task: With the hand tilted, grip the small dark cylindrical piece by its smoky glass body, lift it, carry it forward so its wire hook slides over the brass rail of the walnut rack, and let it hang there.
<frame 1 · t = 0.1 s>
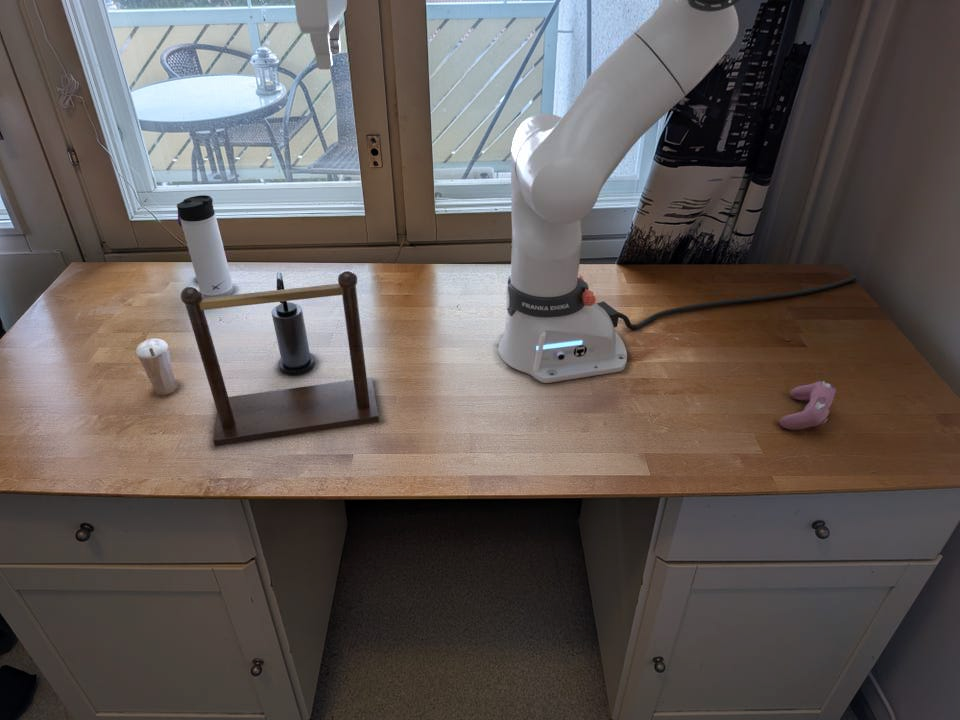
hand: (329, 60, 86), 48 cm above the table, tool pointing down, fingers open, 8 cm apart
dark cylindrical piece: (297, 365, 111), on the table
toy lamp: (206, 279, 136), on the table
rack: (298, 421, 99), on the table
travel mug: (218, 293, 131), on the table
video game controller: (803, 418, 101), on the table
milkshake: (166, 391, 105), on the table
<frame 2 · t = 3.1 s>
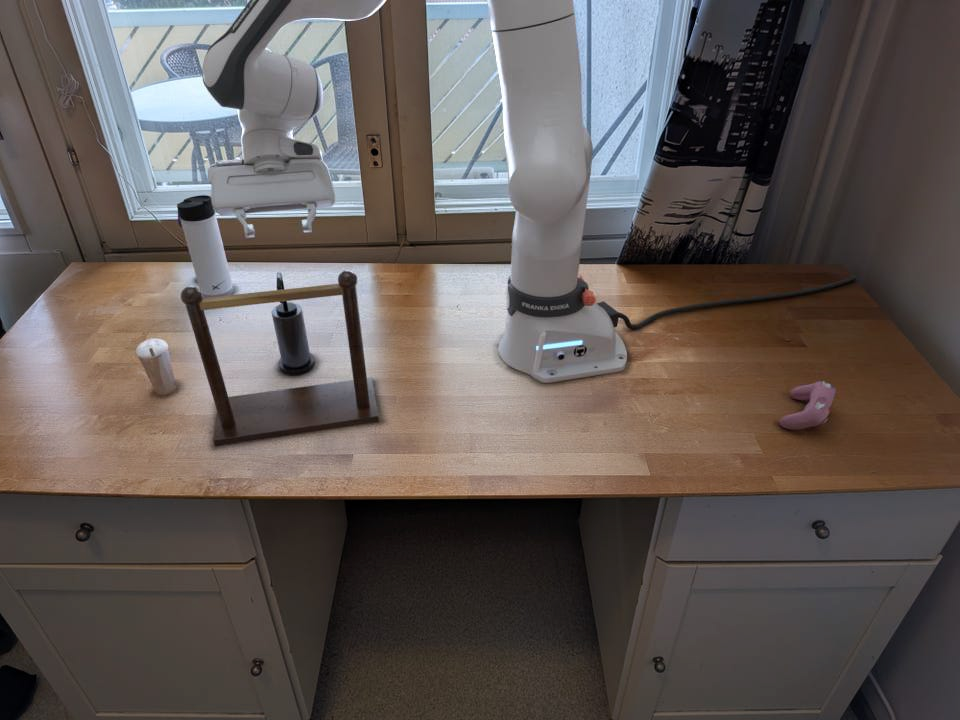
hand: (279, 233, 110), 19 cm above the table, tool tilted 45°, fingers open, 8 cm apart
nothing on the table moved.
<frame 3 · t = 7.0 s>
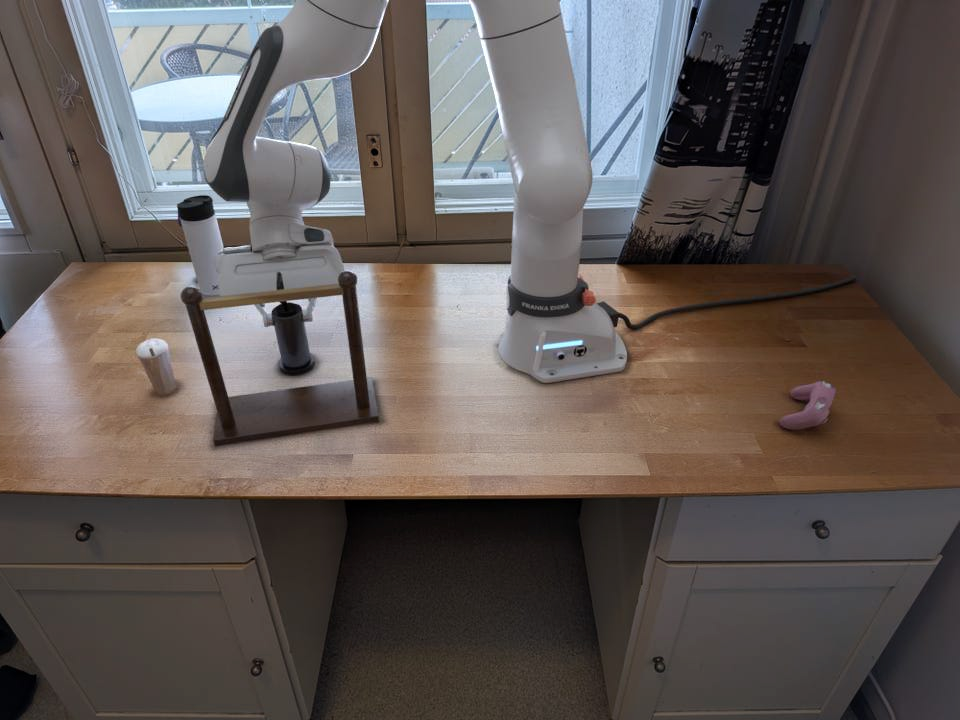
hand: (289, 323, 106), 9 cm above the table, tool tilted 45°, fingers closed on dark cylindrical piece, 5 cm apart
dark cylindrical piece: (297, 365, 111), on the table, touching gripper
everything else where it was.
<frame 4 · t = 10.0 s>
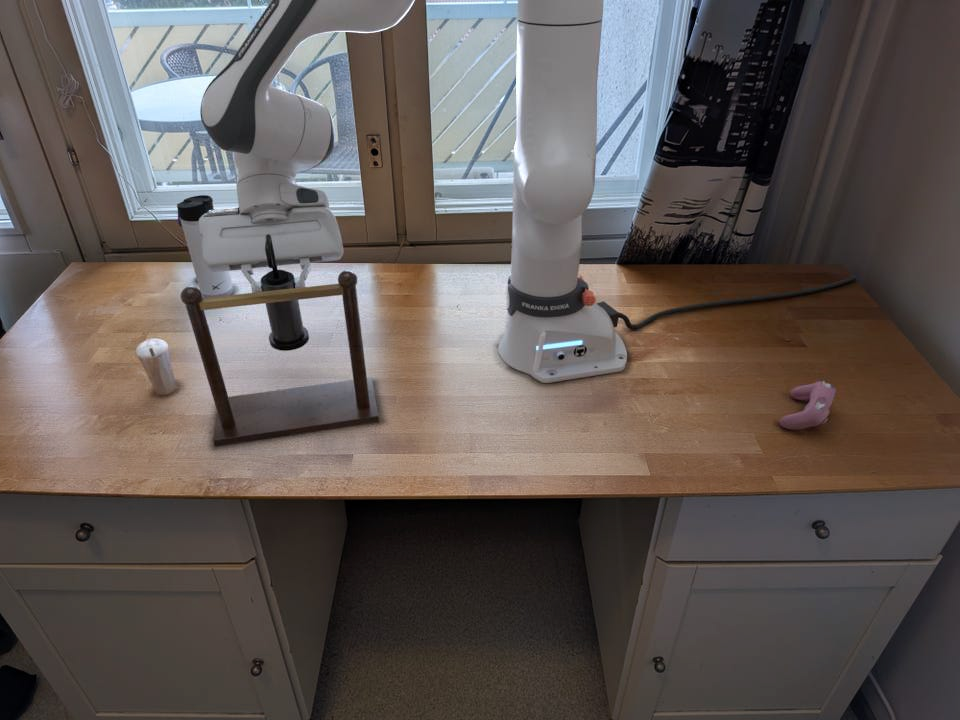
hand: (280, 292, 96), 18 cm above the table, tool tilted 45°, fingers closed on dark cylindrical piece, 5 cm apart
dark cylindrical piece: (289, 340, 102), point 9 cm above the table, touching gripper
everything else where it was.
when the fingers open (14 cm above the table, at t = 12.8 s): dark cylindrical piece moves 5 cm, resting on rack.
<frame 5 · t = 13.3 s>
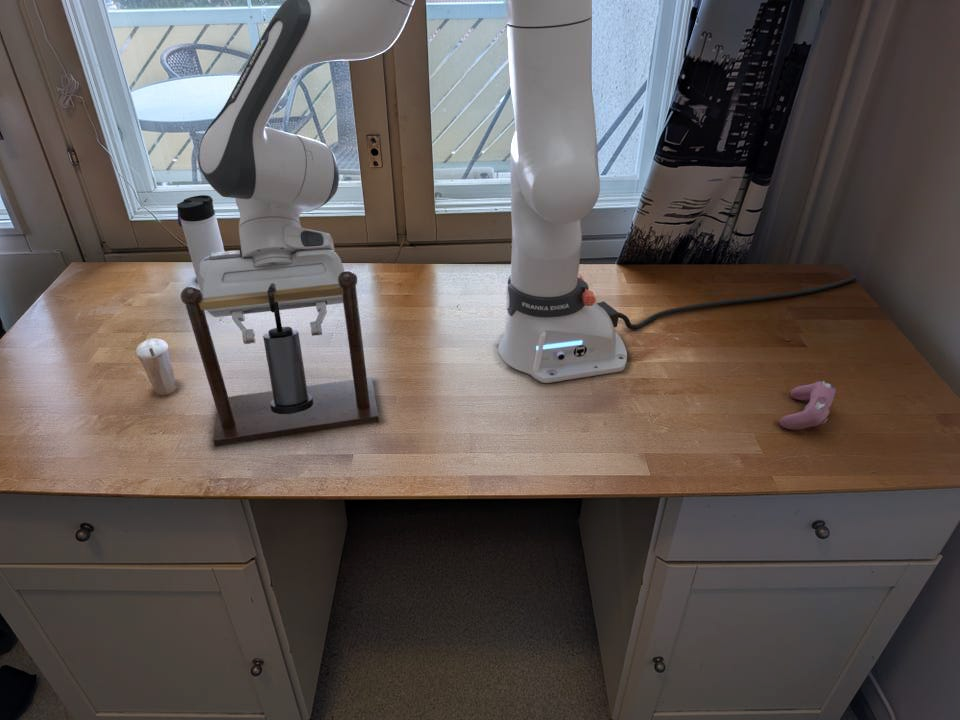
hand: (283, 338, 93), 14 cm above the table, tool tilted 45°, fingers open, 8 cm apart
dark cylindrical piece: (292, 406, 94), point 5 cm above the table, tilted 18°, touching rack
everything else where it was.
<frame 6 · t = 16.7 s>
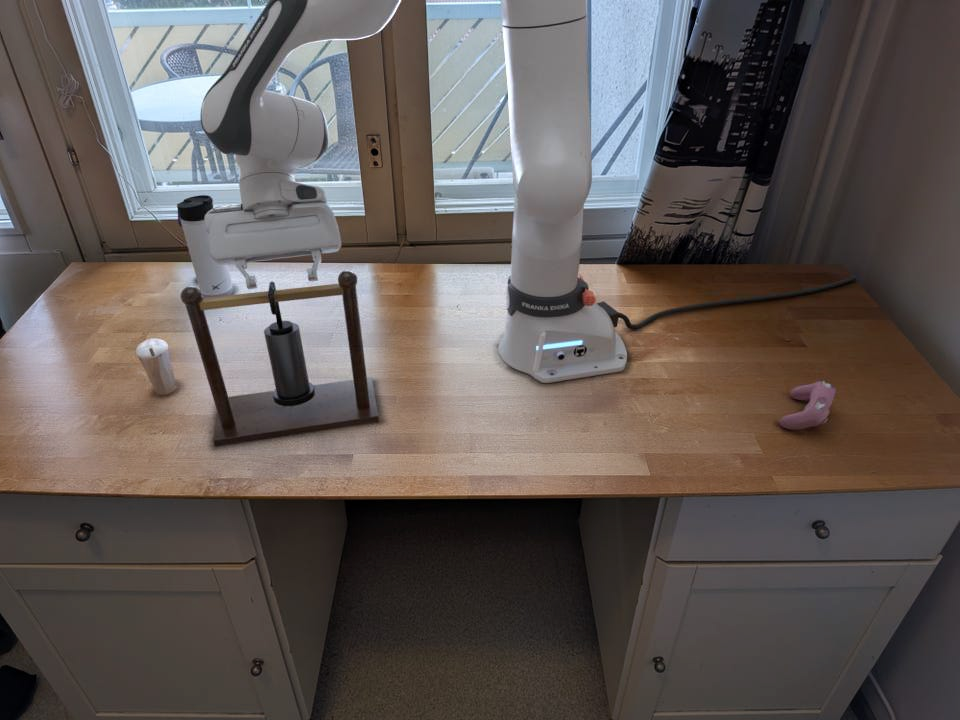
hand: (283, 284, 103), 15 cm above the table, tool tilted 40°, fingers open, 8 cm apart
dark cylindrical piece: (294, 396, 97), point 5 cm above the table, tilted 9°, touching rack
everything else where it was.
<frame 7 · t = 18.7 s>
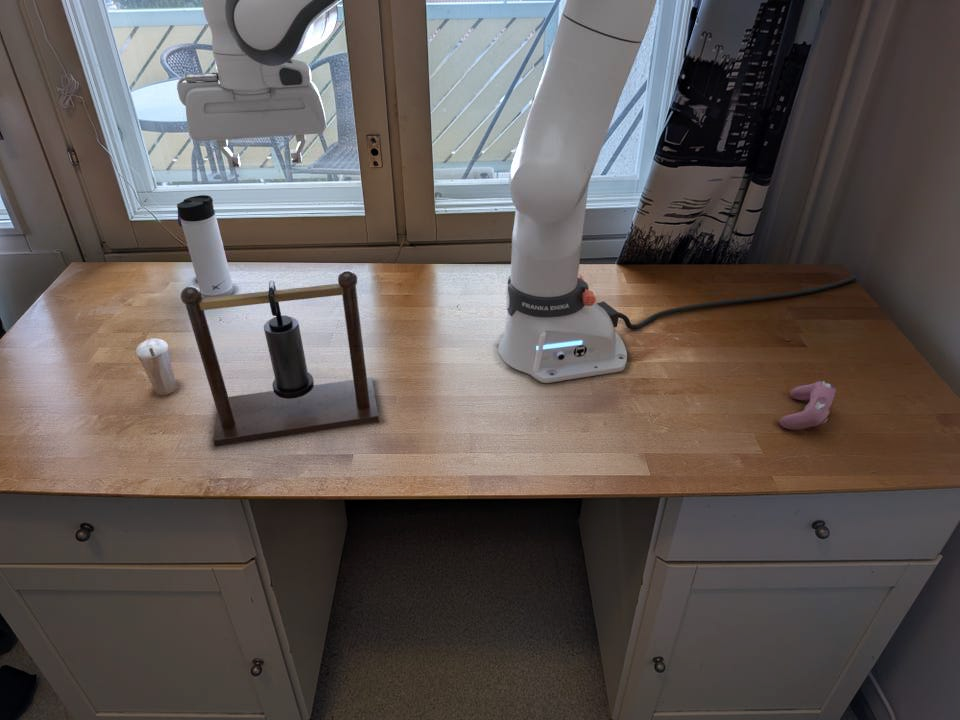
hand: (266, 164, 103), 31 cm above the table, tool pointing down, fingers open, 8 cm apart
dark cylindrical piece: (293, 386, 98), point 5 cm above the table, touching rack
everything else where it was.
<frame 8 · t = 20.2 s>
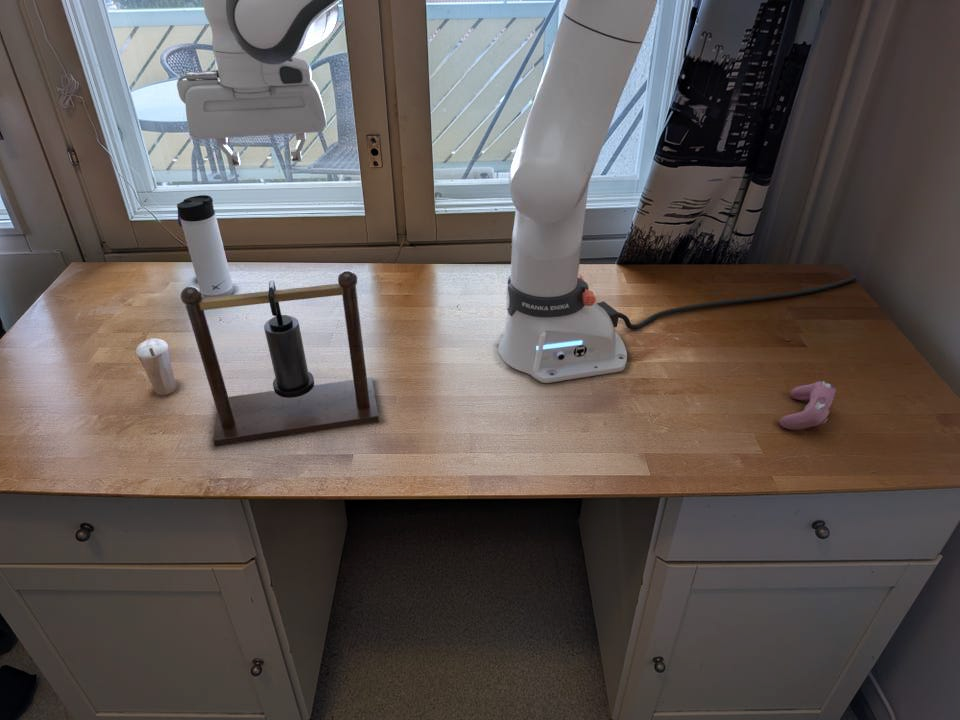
hand: (266, 162, 103), 31 cm above the table, tool pointing down, fingers open, 8 cm apart
nothing on the table moved.
at the end: dark cylindrical piece inside the target area on the rack (2.0 cm from its centre), point 4.9 cm above the rack's base; dark cylindrical piece tilted 1°; dark cylindrical piece touching rack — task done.
